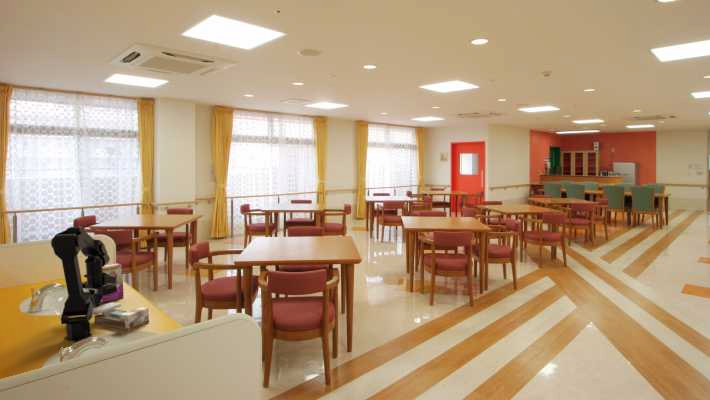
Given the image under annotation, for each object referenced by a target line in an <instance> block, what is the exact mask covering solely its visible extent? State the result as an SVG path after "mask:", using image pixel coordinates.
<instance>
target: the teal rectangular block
mask: <svg viewBox="0 0 710 400" xmlns="http://www.w3.org/2000/svg"><path fill="white" fill-rule="evenodd" d="M122 311H123V310H122ZM122 311H114V312H112V313H110V317H115V318H120V317H119V315H120V314H123V313H125V312H122Z"/></svg>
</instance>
